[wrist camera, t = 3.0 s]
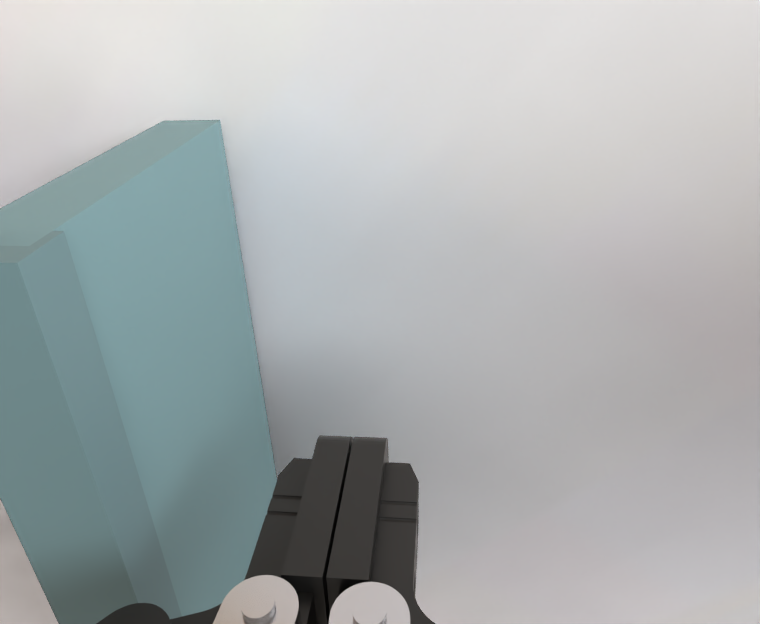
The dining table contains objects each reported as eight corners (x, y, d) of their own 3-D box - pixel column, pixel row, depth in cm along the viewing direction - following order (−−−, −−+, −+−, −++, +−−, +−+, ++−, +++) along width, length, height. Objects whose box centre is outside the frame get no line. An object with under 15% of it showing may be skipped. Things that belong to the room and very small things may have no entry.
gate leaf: (296, 553, 26) (220, 834, 17) (250, 550, 26) (153, 826, 18) (231, 116, 17) (16, 262, 9) (162, 117, 17) (-110, 261, 9)
